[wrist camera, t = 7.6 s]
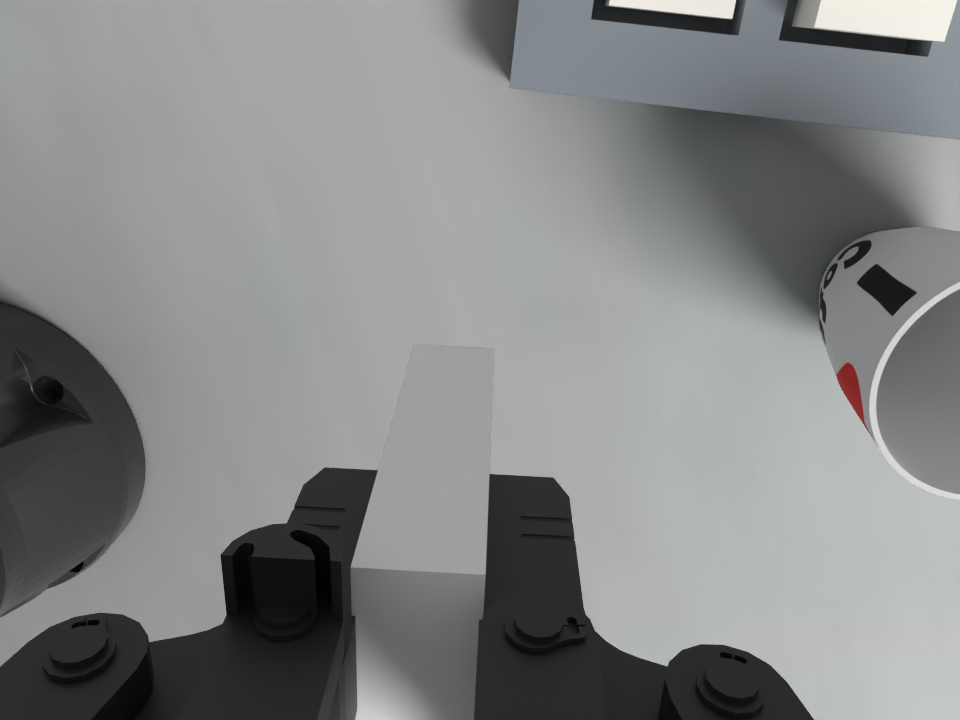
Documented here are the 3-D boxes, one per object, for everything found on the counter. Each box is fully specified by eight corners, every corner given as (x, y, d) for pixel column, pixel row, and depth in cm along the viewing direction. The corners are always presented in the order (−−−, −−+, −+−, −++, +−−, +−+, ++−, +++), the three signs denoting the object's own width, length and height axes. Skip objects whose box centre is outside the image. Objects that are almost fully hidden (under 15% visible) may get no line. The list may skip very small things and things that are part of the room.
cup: (807, 184, 32) (910, 250, 23) (1011, 201, 32) (1199, 275, 23) (764, 366, 36) (841, 488, 26) (950, 384, 35) (1092, 513, 26)
